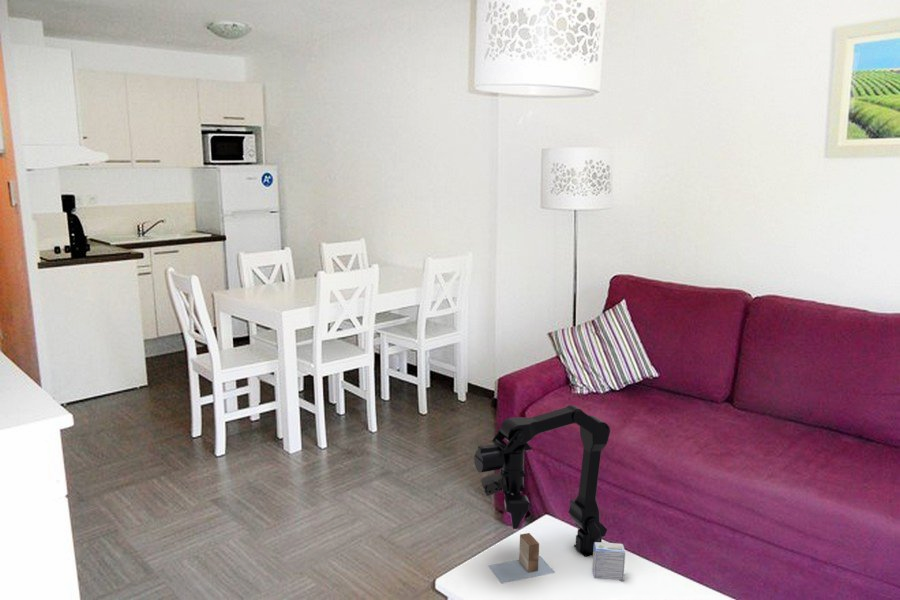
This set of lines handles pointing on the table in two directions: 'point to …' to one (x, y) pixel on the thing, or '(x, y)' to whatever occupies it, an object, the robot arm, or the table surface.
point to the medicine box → (608, 561)
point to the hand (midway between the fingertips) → (512, 520)
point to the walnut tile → (529, 552)
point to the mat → (518, 570)
